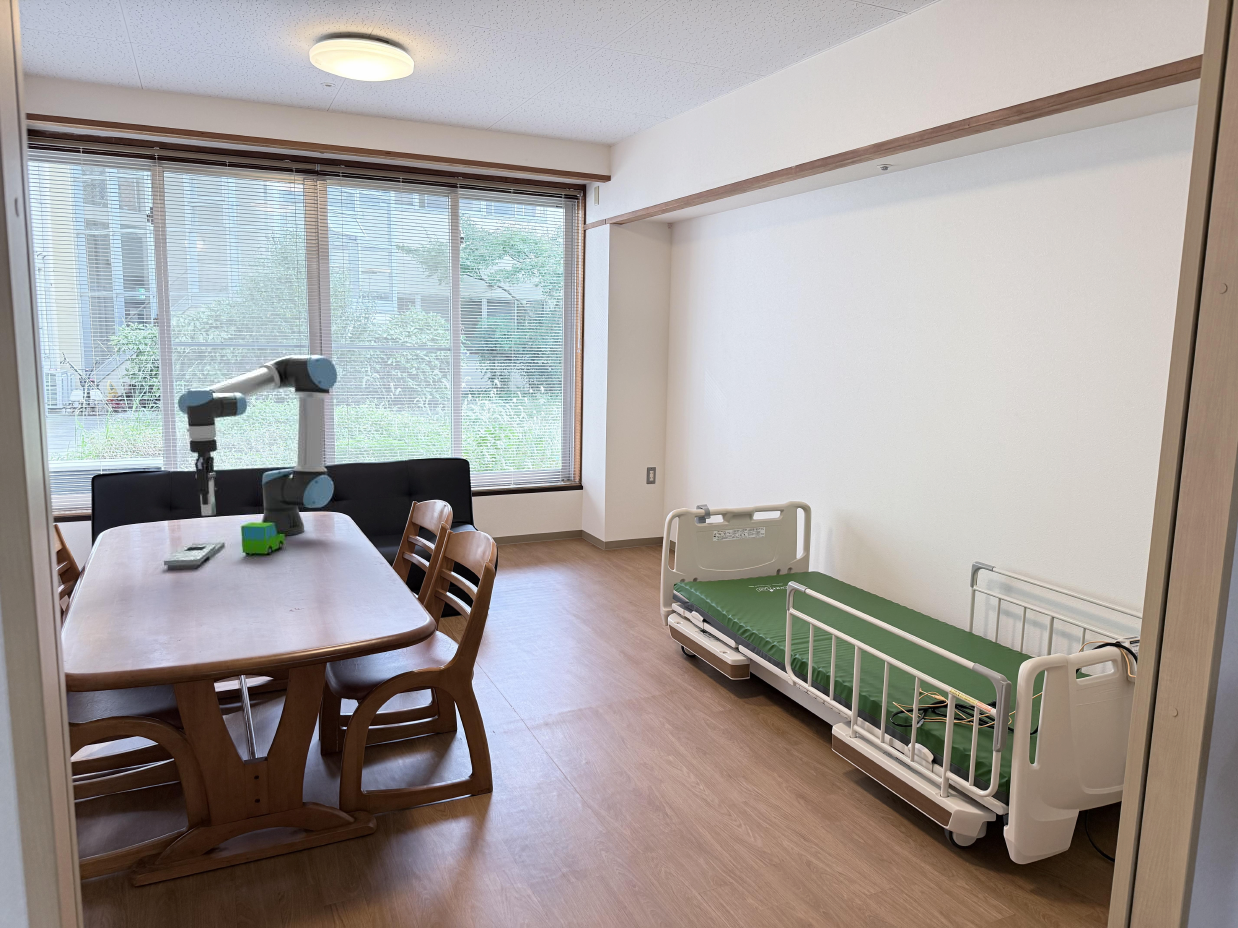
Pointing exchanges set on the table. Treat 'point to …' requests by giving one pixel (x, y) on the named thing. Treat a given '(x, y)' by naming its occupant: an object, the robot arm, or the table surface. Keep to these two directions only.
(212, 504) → the pin
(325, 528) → the table surface
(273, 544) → the toy car
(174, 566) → the plate with square hole
